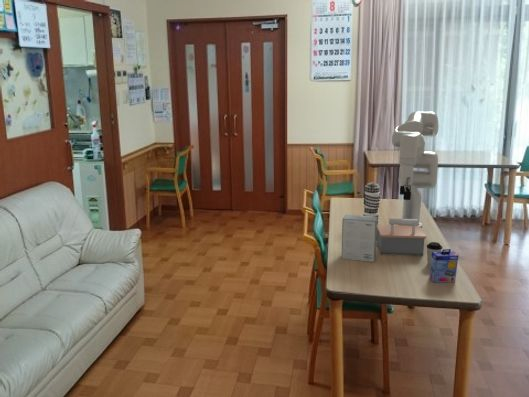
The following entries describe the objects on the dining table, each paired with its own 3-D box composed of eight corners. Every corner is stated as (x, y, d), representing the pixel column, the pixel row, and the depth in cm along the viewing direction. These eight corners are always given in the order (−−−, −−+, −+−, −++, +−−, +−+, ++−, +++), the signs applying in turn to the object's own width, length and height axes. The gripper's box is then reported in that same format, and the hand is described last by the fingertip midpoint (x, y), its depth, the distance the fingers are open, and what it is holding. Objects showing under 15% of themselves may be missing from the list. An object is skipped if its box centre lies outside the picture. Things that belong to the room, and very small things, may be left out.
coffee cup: (438, 268, 228) (440, 247, 225) (423, 265, 231) (424, 244, 229) (442, 263, 234) (444, 243, 231) (427, 260, 237) (428, 240, 235)
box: (376, 243, 259) (377, 226, 257) (416, 244, 258) (418, 227, 255) (380, 254, 245) (381, 236, 243) (423, 255, 243) (424, 237, 241)
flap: (376, 226, 257) (377, 210, 255) (419, 227, 255) (420, 211, 253) (380, 237, 242) (381, 220, 239) (426, 238, 240) (427, 221, 238)
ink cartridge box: (433, 283, 213) (436, 250, 209) (428, 277, 218) (431, 246, 215) (456, 282, 214) (459, 249, 210) (450, 276, 219) (453, 245, 215)
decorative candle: (362, 223, 292) (364, 181, 285) (379, 224, 289) (381, 182, 283) (361, 228, 283) (363, 184, 277) (378, 229, 281) (380, 185, 274)
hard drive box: (376, 256, 242) (378, 216, 237) (374, 262, 235) (376, 221, 230) (343, 253, 247) (345, 213, 242) (340, 258, 240) (342, 218, 235)
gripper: (396, 157, 243) (393, 192, 247) (402, 164, 226) (400, 201, 231) (412, 157, 242) (409, 192, 247) (419, 164, 226) (416, 202, 230)
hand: (404, 197), depth 239 cm, fingers open, 9 cm apart
